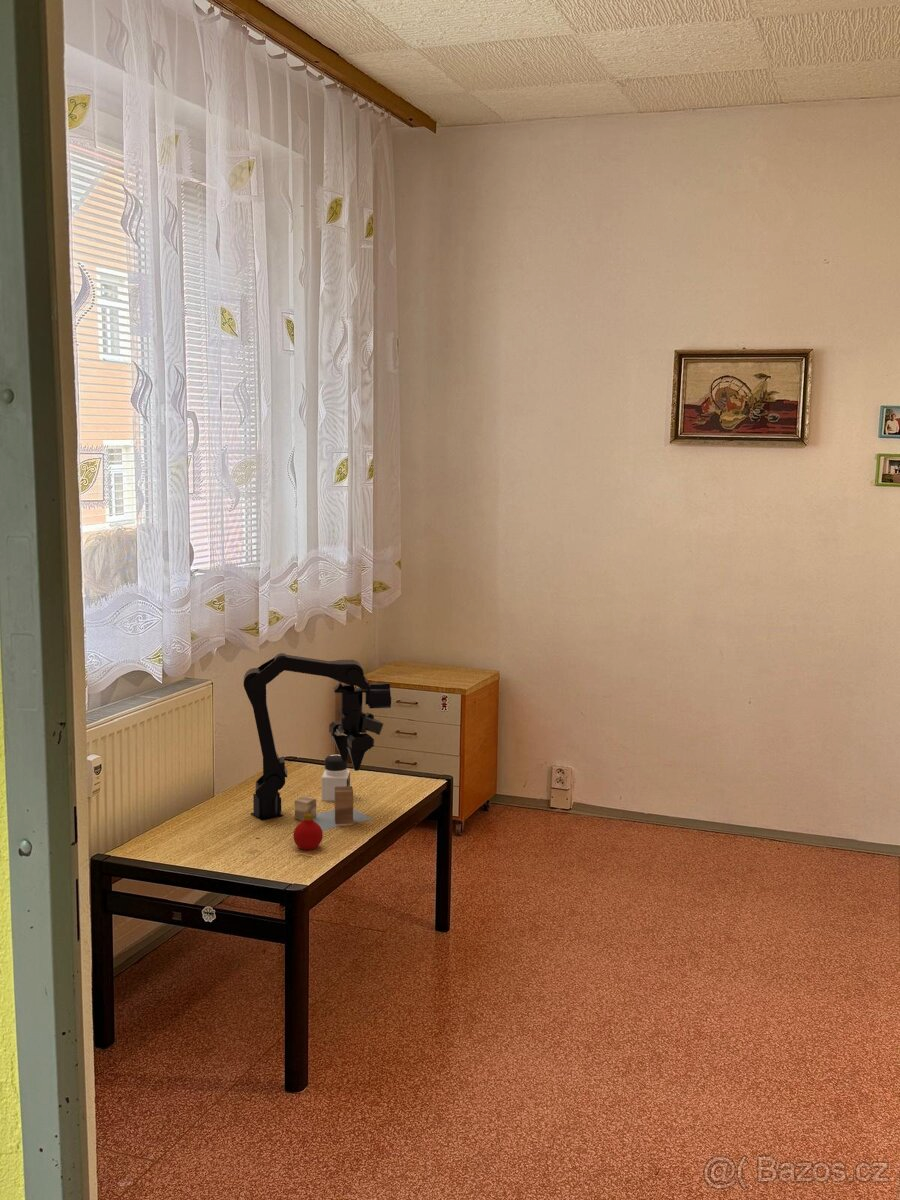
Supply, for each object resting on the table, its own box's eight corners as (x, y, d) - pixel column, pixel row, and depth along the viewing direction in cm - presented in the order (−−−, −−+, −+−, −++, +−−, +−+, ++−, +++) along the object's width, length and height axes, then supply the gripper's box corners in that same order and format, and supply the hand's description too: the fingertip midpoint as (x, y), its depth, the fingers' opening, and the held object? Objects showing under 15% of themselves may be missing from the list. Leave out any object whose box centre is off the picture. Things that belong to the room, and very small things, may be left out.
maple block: (306, 821, 296) (306, 802, 295) (294, 818, 298) (294, 800, 297) (316, 817, 299) (316, 798, 298) (304, 814, 301) (304, 796, 300)
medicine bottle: (347, 802, 313) (347, 760, 311) (321, 802, 313) (321, 759, 311) (350, 794, 320) (350, 753, 318) (324, 794, 320) (324, 752, 318)
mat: (321, 832, 289) (321, 830, 289) (297, 819, 298) (297, 818, 298) (373, 820, 299) (373, 818, 299) (347, 808, 308) (348, 806, 308)
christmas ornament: (308, 856, 272) (308, 816, 271) (287, 850, 276) (287, 810, 275) (328, 848, 278) (328, 809, 276) (307, 842, 282) (307, 803, 281)
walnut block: (353, 825, 293) (353, 791, 292) (335, 825, 293) (335, 792, 291) (351, 819, 298) (352, 786, 297) (334, 819, 297) (334, 786, 296)
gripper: (393, 714, 295) (392, 772, 297) (367, 698, 312) (366, 753, 314) (352, 717, 290) (351, 776, 292) (328, 701, 307) (328, 757, 309)
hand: (350, 765), depth 302 cm, fingers open, 9 cm apart
